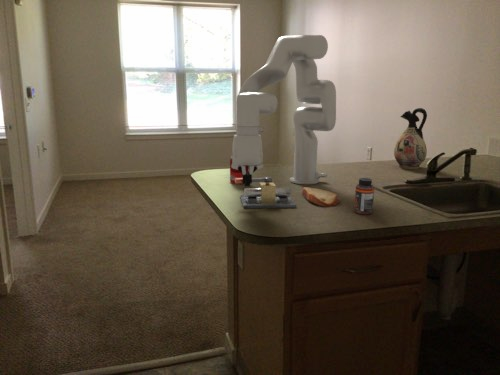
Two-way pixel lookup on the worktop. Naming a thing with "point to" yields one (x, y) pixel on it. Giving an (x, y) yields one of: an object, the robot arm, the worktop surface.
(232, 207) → the worktop surface
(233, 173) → the canned food
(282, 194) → the valve assembly
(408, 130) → the ceramic jug
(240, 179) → the lever
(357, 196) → the supplement bottle
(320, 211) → the worktop surface
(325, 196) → the bread slice
